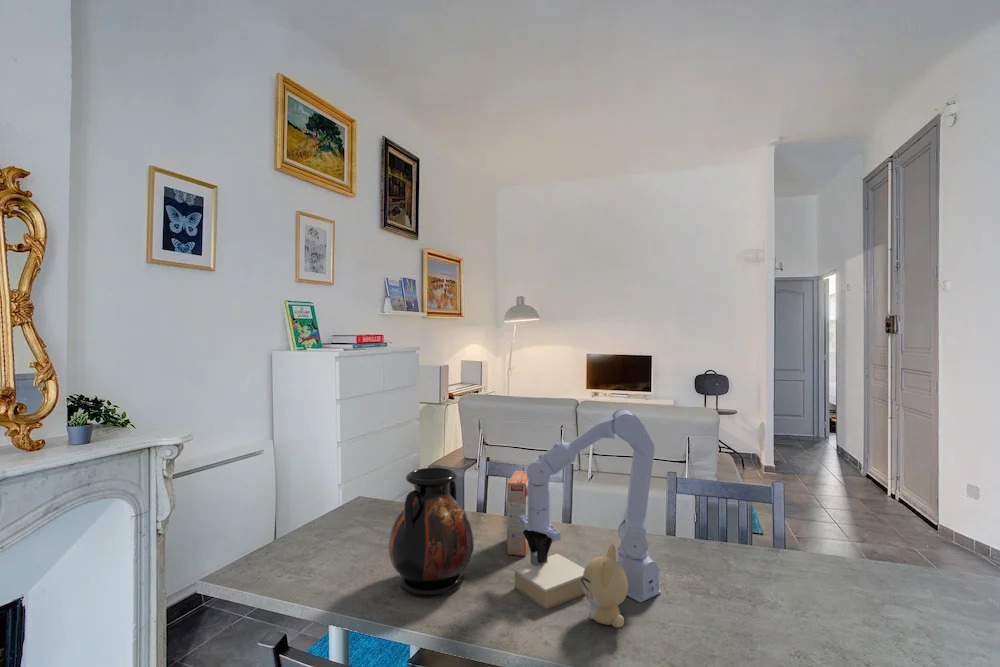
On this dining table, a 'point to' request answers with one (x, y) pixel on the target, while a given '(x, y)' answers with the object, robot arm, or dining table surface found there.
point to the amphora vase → (431, 536)
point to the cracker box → (517, 513)
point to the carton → (550, 597)
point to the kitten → (605, 588)
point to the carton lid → (550, 572)
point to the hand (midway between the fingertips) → (539, 559)
